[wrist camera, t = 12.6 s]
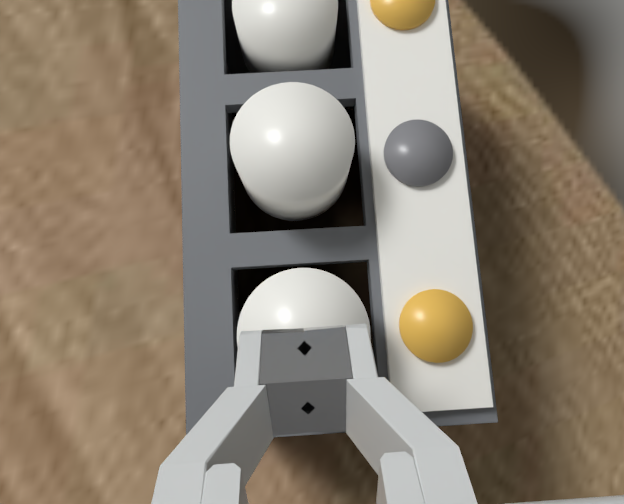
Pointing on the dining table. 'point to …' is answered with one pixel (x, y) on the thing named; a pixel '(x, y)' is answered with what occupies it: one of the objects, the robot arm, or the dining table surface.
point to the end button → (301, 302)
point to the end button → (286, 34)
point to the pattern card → (422, 207)
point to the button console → (221, 200)
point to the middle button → (293, 149)
